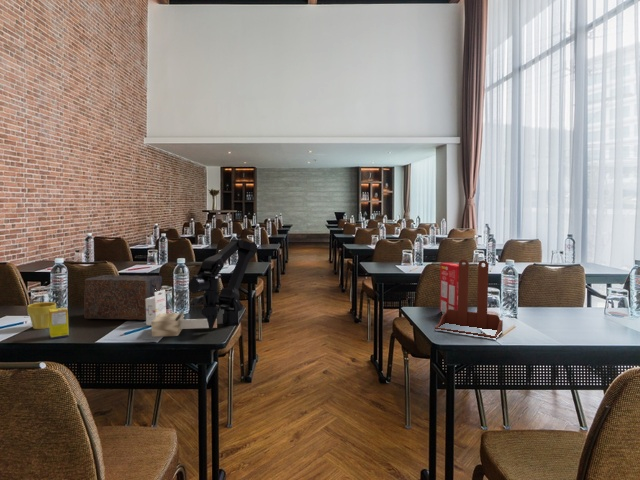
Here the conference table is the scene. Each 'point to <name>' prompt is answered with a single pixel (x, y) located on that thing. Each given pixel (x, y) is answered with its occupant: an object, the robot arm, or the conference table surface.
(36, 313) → the plant pot
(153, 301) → the ink cartridge box
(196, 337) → the conference table surface
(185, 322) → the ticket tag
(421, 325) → the conference table surface
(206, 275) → the robot arm
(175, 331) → the tan box with rod
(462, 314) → the hanging shelf
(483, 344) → the conference table surface
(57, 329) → the supplement box
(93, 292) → the decorative box
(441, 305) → the food packaging
